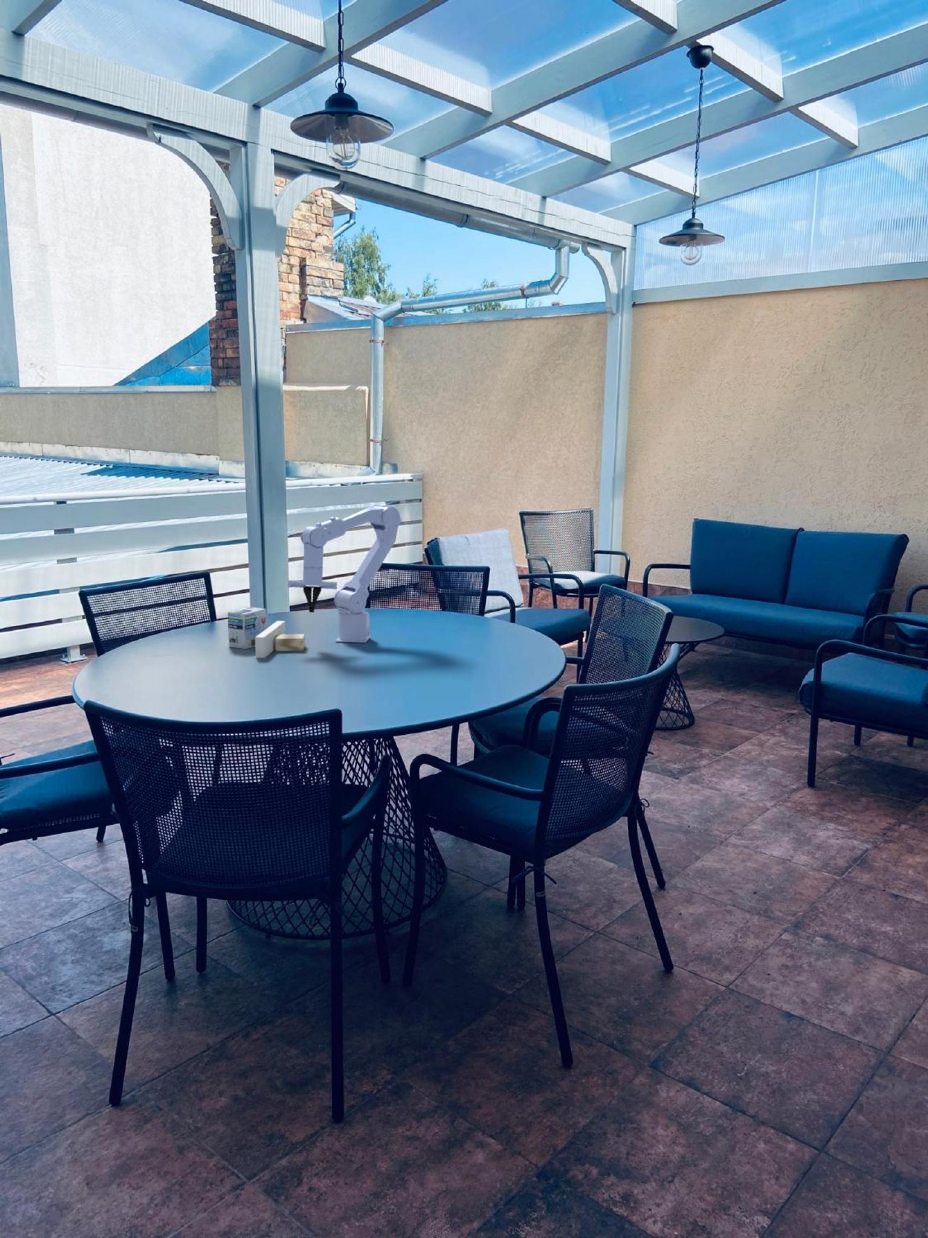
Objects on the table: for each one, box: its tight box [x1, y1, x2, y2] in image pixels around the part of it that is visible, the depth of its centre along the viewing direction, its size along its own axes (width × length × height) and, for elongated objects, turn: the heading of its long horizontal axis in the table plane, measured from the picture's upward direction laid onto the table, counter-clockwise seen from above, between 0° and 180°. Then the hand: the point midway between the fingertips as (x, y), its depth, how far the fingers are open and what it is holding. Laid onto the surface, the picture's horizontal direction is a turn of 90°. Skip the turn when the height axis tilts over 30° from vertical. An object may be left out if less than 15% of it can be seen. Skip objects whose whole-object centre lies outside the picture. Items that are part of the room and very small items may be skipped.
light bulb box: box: [227, 606, 268, 650], centre depth 271 cm, size 11×7×11 cm, turn 154°
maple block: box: [275, 633, 306, 652], centre depth 267 cm, size 8×6×4 cm
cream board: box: [254, 620, 286, 659], centre depth 267 cm, size 2×24×6 cm, turn 177°
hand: (311, 611), depth 270 cm, fingers closed
